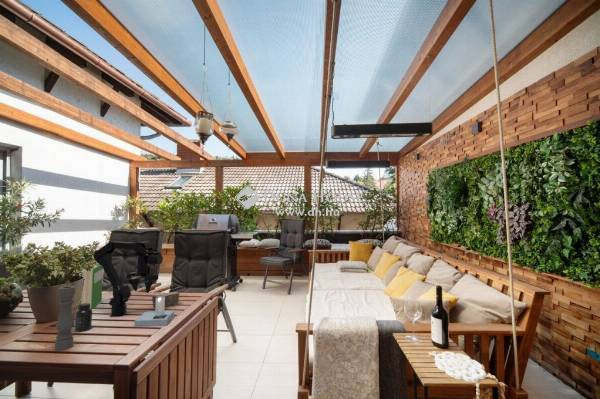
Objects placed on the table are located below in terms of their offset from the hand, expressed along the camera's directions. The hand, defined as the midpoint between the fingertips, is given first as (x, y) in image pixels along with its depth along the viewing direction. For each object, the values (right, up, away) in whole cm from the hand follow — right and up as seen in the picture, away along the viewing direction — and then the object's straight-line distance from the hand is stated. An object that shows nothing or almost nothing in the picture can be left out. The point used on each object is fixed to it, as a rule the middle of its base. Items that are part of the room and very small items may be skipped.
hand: (141, 292), depth 167 cm
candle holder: (-11, -11, -41) cm, 44 cm away
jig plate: (+12, -13, -9) cm, 20 cm away
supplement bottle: (-18, -12, -21) cm, 30 cm away
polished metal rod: (+16, -12, -12) cm, 23 cm away
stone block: (+6, -14, +16) cm, 23 cm away
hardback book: (-41, -14, +17) cm, 46 cm away
